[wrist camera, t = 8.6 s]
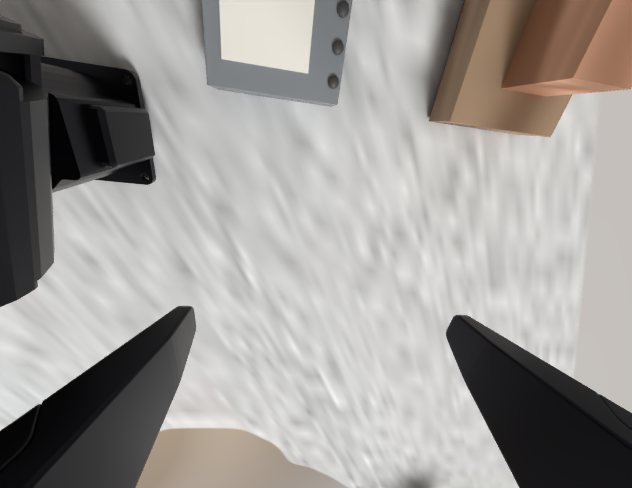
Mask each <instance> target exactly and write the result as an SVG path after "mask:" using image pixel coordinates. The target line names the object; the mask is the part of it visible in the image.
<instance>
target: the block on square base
mask: <svg viewBox="0 0 632 488" xmlns="http://www.w3.org/2000/svg"><path fill="white" fill-rule="evenodd" d="M631 87H632V0H465V2H464V5H463V9H462V12H461V15H460V19H459V22H458V25H457V29H456V32H455V35H454V39H453V42H452V45H451V49H450V52H449V55H448V59H447V62H446V65H445V69H444V72H443V76H442V79H441V82H440V86H439V89H438V92H437V96H436V99H435V102H434V106H433V109H432V112H431V116H430V119H429V121H432V122H438V123H445V124H451V125H458V126H465V127H471V128H478V129H484V130H491V131H498V132H504V133H511V134H517V135H531V136H545V137H551V135H552V133H553V131H554V129H555V128H556V126H557V124H558V122H559V120H560V118H561V116H562V114H563V112H564V110H565V108H566V106H567V104H568V102H569V100H570V98H571V96H572V94H581V93H592V92H604V91H615V90H627V89H631Z"/></svg>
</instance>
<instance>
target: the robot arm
mask: <svg viewBox="0 0 632 488" xmlns="http://www.w3.org/2000/svg"><path fill="white" fill-rule="evenodd" d="M41 55H42V56H44V40H43V39H42V38H40V37H37V36H35V35H33V34H30V33H28V32H26V31H24V30H22V28H21V25H20V24H18V23H16V22H14V21H12V20H10V19H8V18H5V17H3V16H1V15H0V307H1V306H4V305H6V304H8V303H11V302H13V301H16V300H18V299H20V298H21V297H23V296H25V295H26V294H28V293H30V292H31V291H33V290H35V289H36V288H37V287H38V283H37V280H39V279H40V278H41V277H42V276H43V275H44V274H45V273H46V271H47V270H48V269H49V268H50V267H51V265H52V264H53V263H54V229H53V203H52V193H53V192H56V191H60V190H63V189H66V188H69V187H73V186H76V185H79V184H82V183H85V182H89V181H92V180H103V181H114V182H124V183H135V184H145V185H148V184H151V183H153V182H155V180H156V175H155V169H154V163H153V156H154V155H155V152H154V145H153V139H152V133H151V127H150V121H149V115H148V113H147V112H146V111H145V109H144V103H143V97H142V91H141V85H140V81H139V78H138V77H137V75H136V74H135V73H133V72H131V71H129V70H125V69H119V68H113V67H106V66H100V65H93V64H87V63H80V62H74V61H67V60H61V59H54V58H48V57H41ZM127 76H129V77H130V78H131V80H132V83H131V84H130V85H129V84H128V83H127V82H126V77H127ZM144 173H145V174H147V175H148V176H149V180H148V179H146V178H145V177H144ZM195 331H196V322H195V314H194V309H193V307H191V306H178V307H176V308H175V309H173V310H172V311H170V312H169V313H168V314H166V315H165V316H163V317H162V318H160V319H159V320H158V321H156V322H155V323H153V324H152V325H150V326H149V327H148V328H146V329H145V330H143V331H142V332H141V333H139V334H138V335H136V336H135V337H133V338H132V339H131V340H129V341H128V342H126V343H125V344H123V345H122V346H121V347H119V348H118V349H116V350H115V351H113V352H112V353H111V354H109V355H108V356H106V357H105V358H104V359H102V360H101V361H99V362H98V363H96V364H95V365H94V366H92V367H91V368H89V369H88V370H86V371H85V372H84V373H82V374H81V375H79V376H78V377H77V378H75V379H74V380H72V381H71V382H69V383H68V384H67V385H65V386H64V387H62V388H61V389H59V390H58V391H57V392H55V393H54V394H52V395H51V396H49V397H48V398H47V399H45V400H44V401H43V402H42V405H41V404H38V405H36V406H35V407H34V408H32V409H31V410H29V411H28V412H27V413H25V414H24V415H22V416H21V417H19V418H18V419H17V420H15V421H14V422H12V423H11V424H9V425H8V426H6V427H5V428H3V429H2V430H0V488H135V487H136V485H137V482H138V480H139V477H140V475H141V473H142V471H143V468H144V466H145V463H146V461H147V459H148V457H149V454H150V452H151V449H152V447H153V445H154V442H155V440H156V438H157V435H158V433H159V431H160V428H161V426H162V424H163V421H164V419H165V417H166V414H167V412H168V409H169V407H170V405H171V402H172V400H173V398H174V395H175V393H176V391H177V388H178V386H179V383H180V380H181V377H182V374H183V371H184V368H185V365H186V361H187V358H188V355H189V351H190V348H191V345H192V341H193V338H194V335H195ZM446 337H447V340H448V342H449V345H450V347H451V350H452V352H453V355H454V357H455V359H456V362H457V364H458V367H459V369H460V372H461V374H462V376H463V379H464V381H465V383H466V385H467V387H468V389H469V391H470V393H471V395H472V397H473V399H474V400H475V402H476V404H477V406H478V408H479V410H480V412H481V414H482V416H483V418H484V420H485V422H486V424H487V426H488V428H489V430H490V431H491V433H492V435H493V437H494V439H495V441H496V443H497V445H498V447H499V449H500V451H501V453H502V455H503V457H504V459H505V461H506V463H507V464H508V466H509V468H510V470H511V472H512V474H513V476H514V478H515V480H516V482H517V484H518V486H519V488H632V413H630V412H629V411H627V410H625V409H624V408H622V407H620V406H618V405H617V404H615V403H614V402H612V401H610V400H608V399H607V398H605V397H603V396H602V395H599V394H597V393H596V392H595V391H593V390H592V389H590V388H588V387H587V386H585V385H583V384H582V383H580V382H578V381H576V380H575V379H573V378H571V377H570V376H568V375H566V374H565V373H563V372H561V371H560V370H558V369H556V368H555V367H553V366H551V365H550V364H548V363H546V362H545V361H543V360H541V359H540V358H538V357H536V356H535V355H533V354H531V353H530V352H528V351H526V350H524V349H523V348H521V347H519V346H518V345H516V344H514V343H513V342H511V341H509V340H508V339H506V338H504V337H503V336H501V335H499V334H498V333H496V332H494V331H493V330H491V329H489V328H488V327H486V326H484V325H483V324H481V323H479V322H477V321H476V320H474V319H472V318H471V317H469V316H467V315H455V316H454V317H453V319H452V321H451V323H450V325H449V327H448V329H447V331H446Z"/></svg>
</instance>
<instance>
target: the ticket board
mask: <svg viewBox="0 0 632 488" xmlns="http://www.w3.org/2000/svg"><path fill="white" fill-rule="evenodd" d="M351 6H352V0H202V11H203V27H204V43H205V59H206V74H207V85H209V86H212V87H214V88H217V89H219V90H225V91H232V92H239V93H245V94H252V95H258V96H265V97H272V98H278V99H285V100H292V101H298V102H305V103H311V104H318V105H325V106H334V105H337V104H338V97H339V90H340V83H341V76H342V69H343V62H344V55H345V48H346V41H347V34H348V27H349V20H350V13H351Z"/></svg>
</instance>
